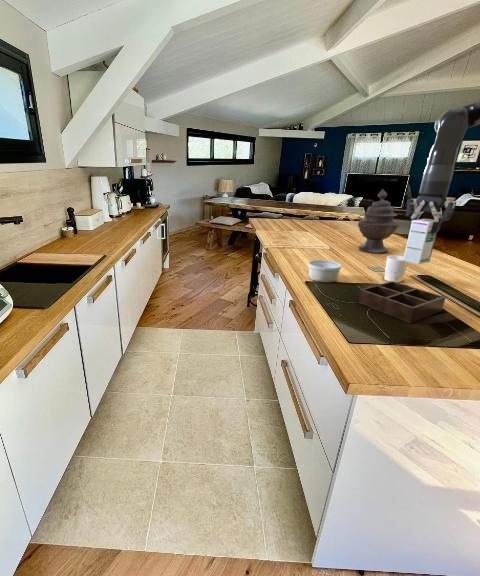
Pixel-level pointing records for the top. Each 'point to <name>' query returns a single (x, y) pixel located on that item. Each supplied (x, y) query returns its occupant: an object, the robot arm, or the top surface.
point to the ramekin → (324, 270)
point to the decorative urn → (377, 225)
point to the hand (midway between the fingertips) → (423, 231)
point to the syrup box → (420, 242)
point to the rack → (401, 301)
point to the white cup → (395, 268)
